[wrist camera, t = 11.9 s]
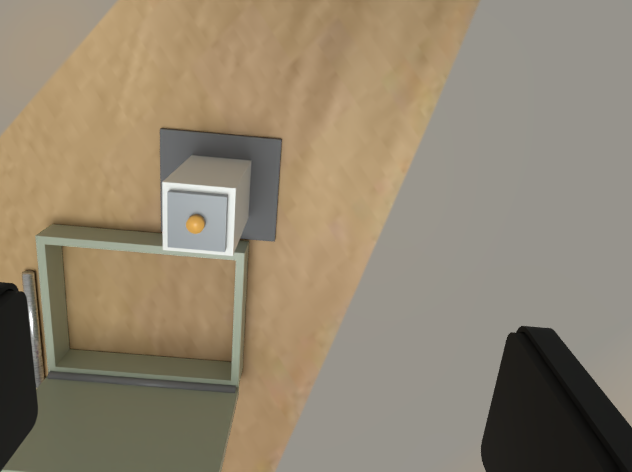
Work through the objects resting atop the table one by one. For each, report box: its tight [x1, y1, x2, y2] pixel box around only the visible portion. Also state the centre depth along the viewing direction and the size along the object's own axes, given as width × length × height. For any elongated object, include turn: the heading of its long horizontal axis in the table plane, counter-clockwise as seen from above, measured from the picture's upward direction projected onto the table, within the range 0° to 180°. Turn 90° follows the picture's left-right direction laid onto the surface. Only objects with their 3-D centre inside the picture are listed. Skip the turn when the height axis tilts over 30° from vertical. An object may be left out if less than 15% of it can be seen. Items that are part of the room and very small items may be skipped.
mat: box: [160, 128, 282, 242], centre depth 47 cm, size 9×10×1 cm
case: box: [1, 224, 249, 472], centre depth 44 cm, size 15×17×14 cm
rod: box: [22, 271, 44, 388], centre depth 51 cm, size 12×1×1 cm, turn 175°
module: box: [162, 155, 251, 256], centre depth 42 cm, size 5×5×10 cm
